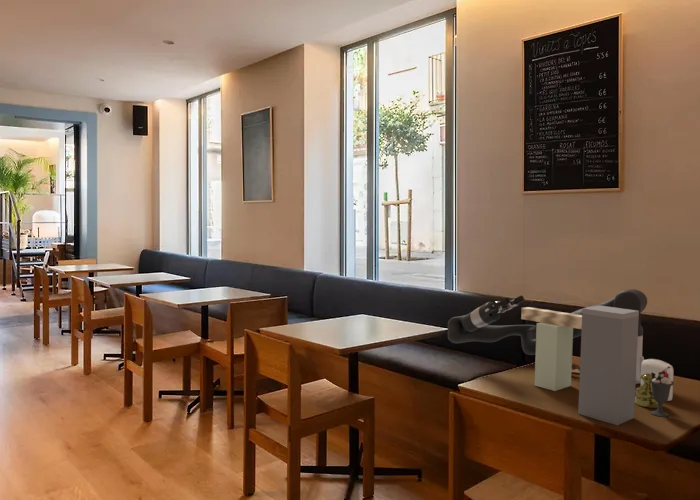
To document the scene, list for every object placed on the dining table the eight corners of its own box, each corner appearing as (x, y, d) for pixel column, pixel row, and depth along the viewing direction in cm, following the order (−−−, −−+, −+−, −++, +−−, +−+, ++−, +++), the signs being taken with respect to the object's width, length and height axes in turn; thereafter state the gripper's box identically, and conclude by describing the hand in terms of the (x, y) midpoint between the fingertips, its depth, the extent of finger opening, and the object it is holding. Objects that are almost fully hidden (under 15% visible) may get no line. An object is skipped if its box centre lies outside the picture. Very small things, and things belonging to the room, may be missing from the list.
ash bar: (521, 318, 211) (521, 307, 211) (527, 317, 214) (527, 306, 214) (583, 329, 193) (584, 317, 193) (589, 328, 195) (590, 316, 195)
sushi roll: (595, 371, 226) (595, 361, 225) (596, 381, 212) (597, 370, 211) (554, 367, 231) (555, 357, 231) (553, 377, 217) (554, 366, 217)
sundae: (675, 418, 172) (678, 368, 172) (651, 416, 174) (653, 367, 173) (668, 411, 179) (670, 363, 178) (644, 409, 180) (646, 361, 179)
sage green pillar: (534, 385, 204) (536, 323, 203) (550, 380, 211) (552, 320, 209) (555, 391, 198) (557, 326, 197) (570, 385, 204) (573, 323, 203)
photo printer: (637, 393, 197) (639, 357, 196) (646, 391, 199) (648, 355, 198) (665, 402, 188) (667, 364, 187) (674, 400, 190) (676, 363, 189)
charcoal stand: (578, 413, 176) (582, 308, 174) (595, 407, 182) (599, 305, 180) (617, 425, 166) (622, 314, 164) (633, 418, 173) (638, 310, 171)
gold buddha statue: (660, 410, 180) (661, 378, 180) (633, 405, 184) (634, 374, 184) (661, 403, 186) (663, 372, 186) (636, 399, 190) (637, 369, 190)
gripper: (469, 307, 223) (500, 290, 212) (492, 304, 232) (523, 288, 221) (477, 326, 221) (508, 310, 209) (500, 322, 230) (531, 306, 218)
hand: (516, 298), depth 215 cm, fingers open, 8 cm apart
